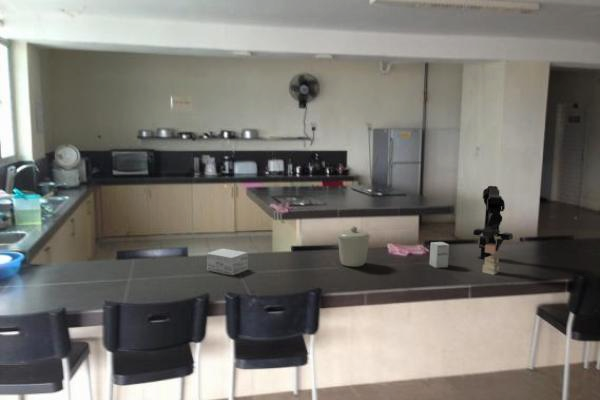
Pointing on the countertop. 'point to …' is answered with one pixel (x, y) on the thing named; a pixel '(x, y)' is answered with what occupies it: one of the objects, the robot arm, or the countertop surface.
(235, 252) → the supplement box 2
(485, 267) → the tower base
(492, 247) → the terracotta block
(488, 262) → the tower mid
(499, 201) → the robot arm
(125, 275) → the countertop surface
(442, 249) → the supplement box
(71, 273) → the countertop surface
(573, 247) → the countertop surface
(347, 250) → the canister
